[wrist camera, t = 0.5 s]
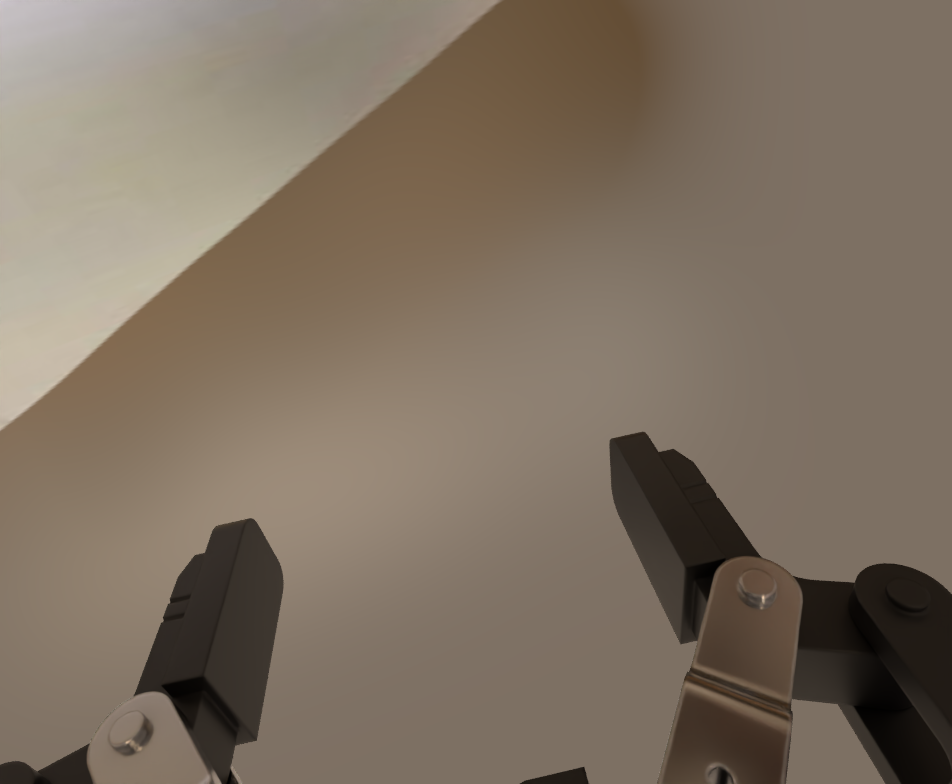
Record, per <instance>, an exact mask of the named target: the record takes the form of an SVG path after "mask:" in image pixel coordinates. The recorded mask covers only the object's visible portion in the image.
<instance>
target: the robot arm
mask: <svg viewBox="0 0 952 784" xmlns="http://www.w3.org/2000/svg"><path fill="white" fill-rule="evenodd" d="M610 465H611V487H612V494H613V499H614V503H615V506H616V509H617V512H618V515H619V517H620V519H621V521H622V523H623V525H624V527H625V529H626V531H627V534H628V536H629V538H630V540H631V542H632V544H633V546H634V548H635V550H636V552H637V554H638V556H639V558H640V561H641V563H642V565H643V567H644V569H645V571H646V573H647V575H648V577H649V579H650V582H651V584H652V585H653V588H654V590H655V592H656V594H657V596H658V598H659V600H660V602H661V604H662V607H663V609H664V611H665V613H666V615H667V617H668V619H669V621H670V623H671V625H672V627H673V630H674V632H675V634H676V636H677V638H678V640H679V642H680V644H684V643H688V642H693V641H697V645H696V649H695V653H694V657H693V661H692V664H691V668H690V671H689V672H687V674H686V676H685V679H684V682H683V685H682V689H681V693H680V697H679V700H678V705H677V708H676V712H675V716H674V720H673V724H672V727H671V731H670V735H669V739H668V743H667V747H666V751H665V754H664V758H663V762H662V766H661V770H660V774H659V777H658V781H657V784H786V777H787V767H788V759H789V750H790V741H791V732H792V719H793V718H792V717H793V714H792V711H791V700H792V699H797V700H806V701H815V702H823V703H833V704H838V705H839V707H840V709H841V710H842V712H843V714H844V715H845V717H846V719H847V720H848V722H849V724H850V725H851V727H852V729H853V730H854V732H855V734H856V735H857V737H858V739H859V740H860V742H861V744H862V745H863V747H864V749H865V750H866V752H867V754H868V755H869V757H870V759H871V760H872V762H873V764H874V765H875V767H876V768H877V770H878V772H879V774H880V775H881V777H882V778H883V780H884V782H885V784H952V594H951V593H950V592H949V591H948V590H947V589H946V588H945V587H944V586H943V585H941V584H940V583H939V582H938V581H936V580H935V579H933V578H932V577H930V576H928V575H927V574H925V573H922V572H920V571H918V570H916V569H913V568H910V567H907V566H903V565H897V564H885V563H884V564H876V565H872V566H869V567H867V568H865V569H864V570H863V571H861V572H860V573H859V575H858V576H857V578H856V581H855V583H850V582H835V581H819V580H808V579H803V578H798V577H795V576H792V575H791V574H790V573H789V572H788V571H787V570H786V569H784V568H783V567H781V566H780V565H778V564H776V563H774V562H772V561H770V560H767V559H764V558H762V557H761V556H760V555H759V554H758V552H757V551H756V550H755V549H754V547H753V546H752V544H751V543H750V541H749V540H748V539H747V537H746V536H745V534H744V533H743V531H742V530H741V529H740V527H739V526H738V524H737V523H736V522H735V520H734V519H733V517H732V516H731V515H730V513H729V512H728V510H727V509H726V507H725V506H724V505H723V503H722V502H721V501H720V499H719V498H717V496H716V493H715V492H714V490H713V489H712V488H711V486H710V485H709V484H708V483H707V482H706V479H705V478H704V476H703V475H702V474H701V472H700V471H699V469H698V468H697V466H696V465H695V464H694V462H692V461H691V460H689V459H688V458H686V457H685V456H683V455H682V454H680V453H679V452H677V451H676V450H674V449H671V450H667V451H662V452H658V451H657V449H656V447H655V446H654V444H653V443H652V441H651V440H650V438H649V437H648V435H647V434H646V433H645V432H639V433H635V434H630V435H626V436H621V437H617V438H612V439H611V440H610ZM282 594H283V574H282V569H281V566H280V563H279V561H278V559H277V557H276V556H275V554H274V552H273V550H272V548H271V547H270V545H269V543H268V541H267V540H266V538H265V536H264V534H263V532H262V531H261V529H260V527H259V526H258V524H257V522H256V521H255V520H254V519H251V518H250V519H245V520H241V521H236V522H232V523H228V524H223V525H218V526H216V527H215V528H214V529H213V531H212V534H211V537H210V540H209V543H208V546H207V549H206V552H205V553H203V554H199V555H195V556H194V557H193V558H192V560H191V561H190V562H189V564H188V565H187V566H186V567H185V569H184V570H183V571H182V573H181V574H180V575H179V577H178V579H177V581H176V584H175V587H174V590H173V592H172V595H171V598H170V604H168V606H167V608H166V611H165V614H164V617H163V619H164V621H163V622H162V623H161V625H160V627H159V630H158V633H157V635H156V638H155V641H154V644H153V646H152V649H151V652H150V655H149V657H148V660H147V662H146V665H145V668H144V671H143V673H142V676H141V679H140V681H139V684H138V687H137V690H136V692H135V694H134V697H132V698H130V699H128V700H127V701H125V702H124V703H122V704H121V705H119V706H118V707H117V708H116V709H114V710H113V711H112V712H111V713H110V714H109V715H108V716H107V717H106V718H105V719H104V721H103V722H102V723H101V725H100V726H99V727H98V729H97V730H96V732H95V734H94V736H93V738H92V739H91V742H90V743H89V744H88V745H86V746H84V747H82V748H80V749H79V750H77V751H75V752H73V753H71V754H69V755H67V756H66V757H64V758H62V759H60V760H58V761H56V762H55V763H52V764H51V765H49V766H47V767H45V768H43V769H41V770H39V771H38V772H37V771H36V770H34V769H33V768H31V767H30V766H29V765H27V764H25V763H23V762H19V761H15V762H14V761H13V762H8V763H4V764H1V765H0V784H243V783H242V781H241V779H240V778H239V776H238V774H237V772H236V771H235V769H234V768H233V767H232V766H231V763H232V758H233V753H234V748H235V745H239V744H244V743H248V742H253V741H256V740H257V736H258V730H259V724H260V719H261V713H262V707H263V702H264V696H265V690H266V684H267V679H268V673H269V667H270V662H271V656H272V651H273V645H274V639H275V633H276V628H277V622H278V616H279V610H280V605H281V599H282ZM520 784H588V780H587V776H586V772H585V768H584V767H581V768H578V769H573V770H569V771H565V772H560V773H556V774H552V775H548V776H543V777H539V778H535V779H531V780H526V781H524V782H522V783H520Z"/></svg>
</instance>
